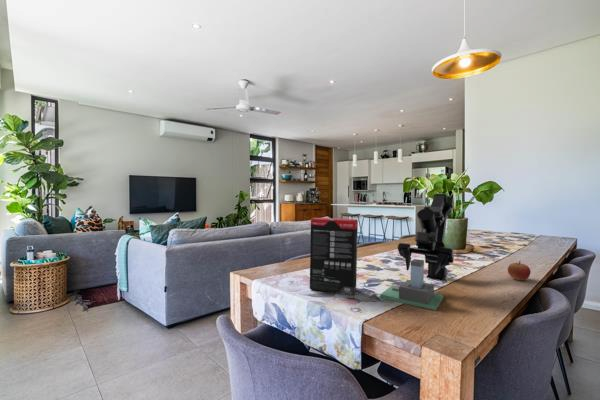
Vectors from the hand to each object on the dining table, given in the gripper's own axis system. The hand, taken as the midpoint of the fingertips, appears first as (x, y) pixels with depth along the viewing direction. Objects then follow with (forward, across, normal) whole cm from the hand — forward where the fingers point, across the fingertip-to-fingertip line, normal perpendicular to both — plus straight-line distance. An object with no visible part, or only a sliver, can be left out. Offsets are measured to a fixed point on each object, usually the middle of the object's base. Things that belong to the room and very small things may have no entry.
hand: (420, 272), depth 102 cm
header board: (+9, -2, +4) cm, 10 cm away
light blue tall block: (+9, 0, +2) cm, 9 cm away
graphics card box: (+16, -28, -3) cm, 32 cm away
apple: (-27, +29, +40) cm, 56 cm away
